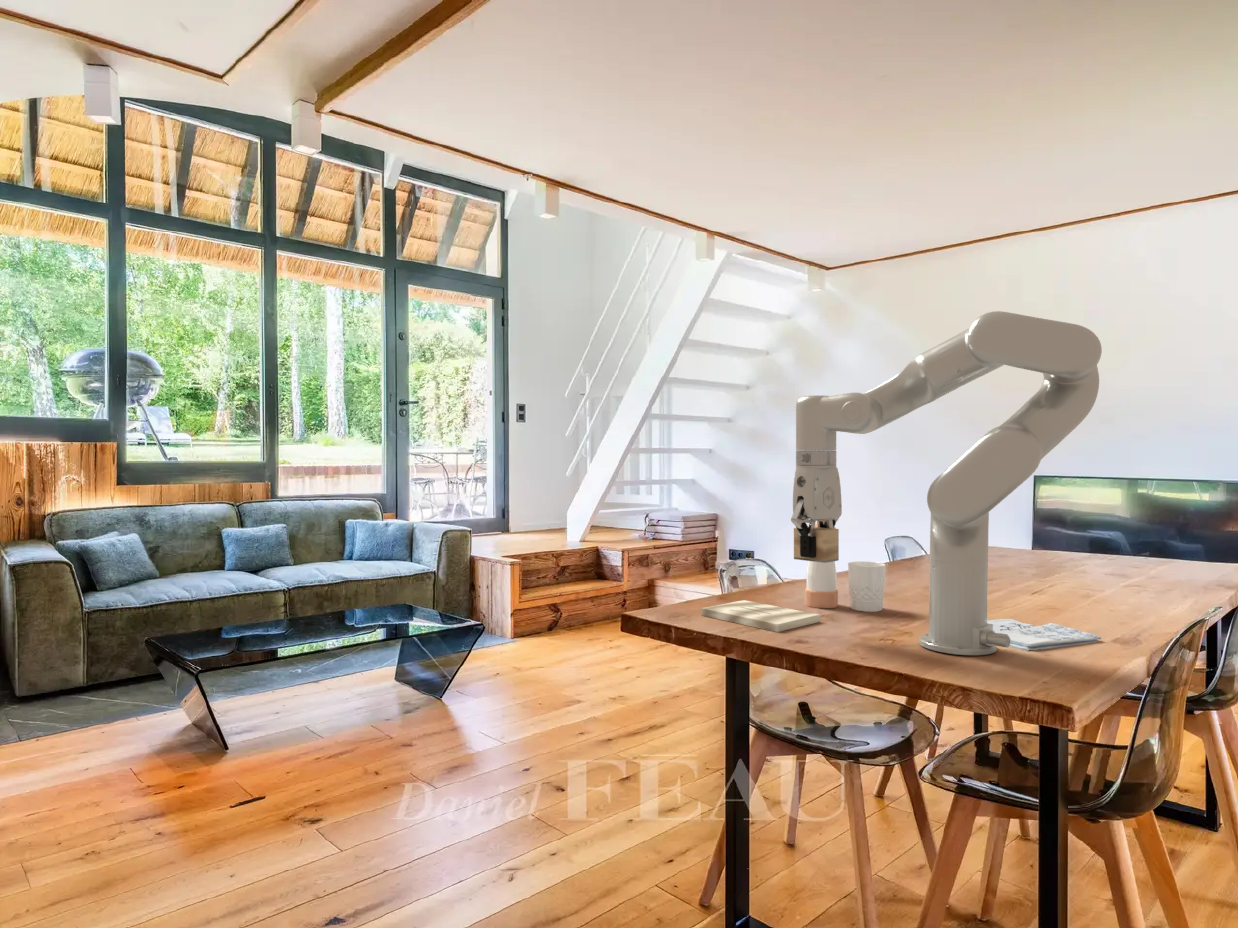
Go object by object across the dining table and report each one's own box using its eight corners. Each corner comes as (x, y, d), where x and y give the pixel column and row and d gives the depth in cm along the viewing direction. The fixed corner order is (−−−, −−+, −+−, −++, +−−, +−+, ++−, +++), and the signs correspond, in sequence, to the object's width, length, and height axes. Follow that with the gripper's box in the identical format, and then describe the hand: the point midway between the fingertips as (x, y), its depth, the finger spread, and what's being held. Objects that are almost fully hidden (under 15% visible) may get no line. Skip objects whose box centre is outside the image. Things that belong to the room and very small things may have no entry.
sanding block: (838, 560, 149) (838, 528, 149) (824, 562, 146) (824, 530, 146) (807, 556, 154) (807, 526, 154) (793, 559, 151) (793, 528, 151)
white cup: (847, 611, 170) (847, 565, 170) (848, 604, 178) (848, 560, 178) (885, 613, 168) (886, 567, 168) (884, 606, 176) (884, 562, 175)
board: (820, 621, 160) (820, 614, 160) (777, 632, 151) (777, 624, 151) (743, 606, 175) (743, 599, 175) (701, 615, 166) (701, 608, 166)
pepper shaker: (841, 608, 173) (842, 522, 173) (808, 608, 174) (809, 521, 173) (833, 601, 181) (833, 519, 180) (801, 601, 181) (802, 519, 181)
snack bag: (1028, 655, 137) (1028, 642, 137) (940, 629, 155) (940, 619, 155) (1103, 645, 144) (1103, 633, 144) (1011, 622, 163) (1011, 612, 163)
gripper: (806, 461, 141) (806, 562, 141) (857, 460, 152) (857, 553, 153) (772, 460, 147) (772, 558, 147) (824, 460, 158) (824, 550, 158)
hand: (816, 554), depth 150 cm, fingers closed on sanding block, 4 cm apart
